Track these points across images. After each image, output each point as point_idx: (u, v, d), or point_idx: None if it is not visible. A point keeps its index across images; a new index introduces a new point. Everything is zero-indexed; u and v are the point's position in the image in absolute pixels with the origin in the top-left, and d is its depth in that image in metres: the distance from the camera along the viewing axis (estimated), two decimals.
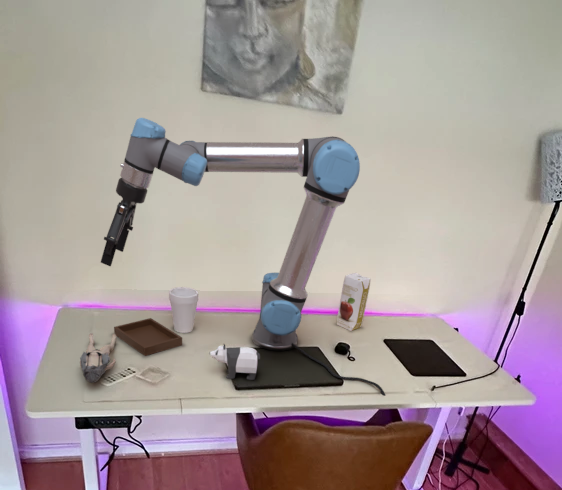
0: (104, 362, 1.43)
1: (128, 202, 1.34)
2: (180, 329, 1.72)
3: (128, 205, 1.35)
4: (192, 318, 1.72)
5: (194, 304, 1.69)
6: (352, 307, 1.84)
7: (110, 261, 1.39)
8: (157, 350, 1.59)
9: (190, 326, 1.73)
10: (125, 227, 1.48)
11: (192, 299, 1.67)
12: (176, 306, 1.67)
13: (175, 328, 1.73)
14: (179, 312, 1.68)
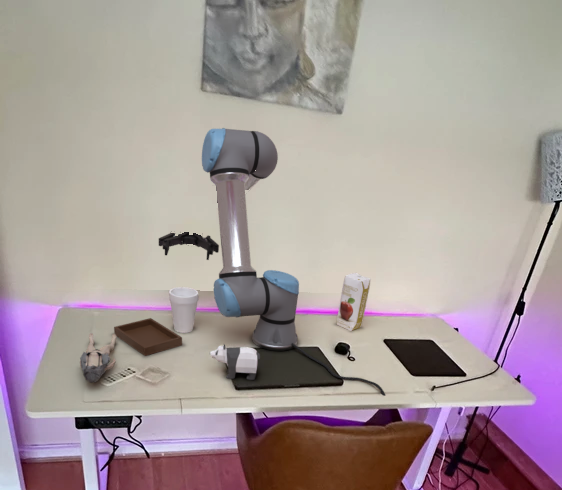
0: (104, 362, 1.43)
1: None
2: (180, 329, 1.72)
3: None
4: (192, 318, 1.72)
5: (194, 304, 1.69)
6: (352, 307, 1.84)
7: (165, 246, 1.70)
8: (157, 350, 1.59)
9: (190, 326, 1.73)
10: (209, 248, 1.77)
11: (192, 299, 1.67)
12: (176, 306, 1.67)
13: (175, 328, 1.73)
14: (179, 312, 1.68)
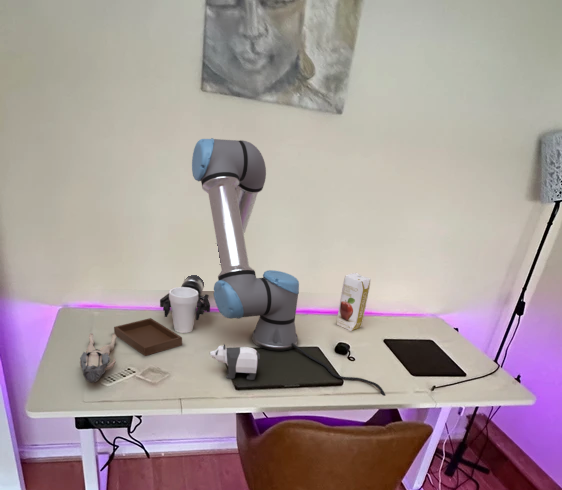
0: (104, 362, 1.43)
1: None
2: (180, 329, 1.72)
3: None
4: (192, 318, 1.72)
5: (194, 304, 1.69)
6: (352, 307, 1.84)
7: (165, 308, 1.69)
8: (157, 350, 1.59)
9: (190, 326, 1.73)
10: None
11: (192, 299, 1.67)
12: (176, 306, 1.67)
13: (175, 328, 1.73)
14: (179, 312, 1.68)
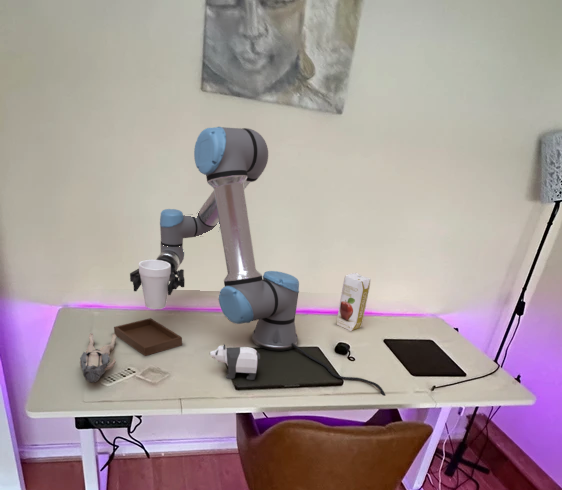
0: (104, 362, 1.43)
1: None
2: (151, 305, 1.59)
3: None
4: (164, 293, 1.59)
5: (166, 278, 1.56)
6: (352, 307, 1.84)
7: None
8: (157, 350, 1.59)
9: (162, 302, 1.60)
10: None
11: (163, 272, 1.54)
12: (146, 279, 1.54)
13: (146, 304, 1.60)
14: (149, 286, 1.55)
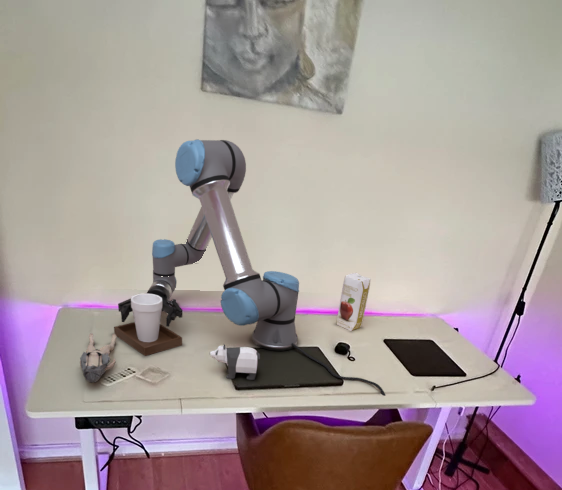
0: (104, 362, 1.43)
1: None
2: (144, 338, 1.62)
3: None
4: (156, 326, 1.62)
5: (158, 312, 1.59)
6: (352, 307, 1.84)
7: None
8: (157, 350, 1.59)
9: (154, 335, 1.63)
10: None
11: (155, 307, 1.57)
12: (138, 314, 1.57)
13: (138, 337, 1.63)
14: (142, 320, 1.58)
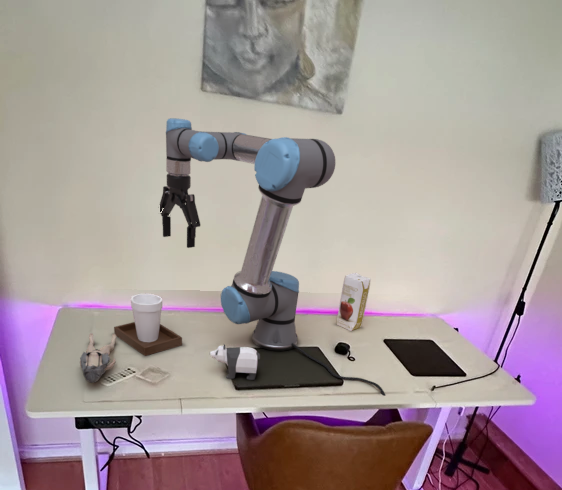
0: (104, 362, 1.43)
1: None
2: (144, 338, 1.62)
3: (169, 188, 1.68)
4: (156, 326, 1.62)
5: (158, 312, 1.59)
6: (352, 307, 1.84)
7: None
8: (157, 350, 1.59)
9: (154, 335, 1.63)
10: None
11: (155, 307, 1.57)
12: (138, 314, 1.57)
13: (138, 337, 1.63)
14: (142, 320, 1.58)
